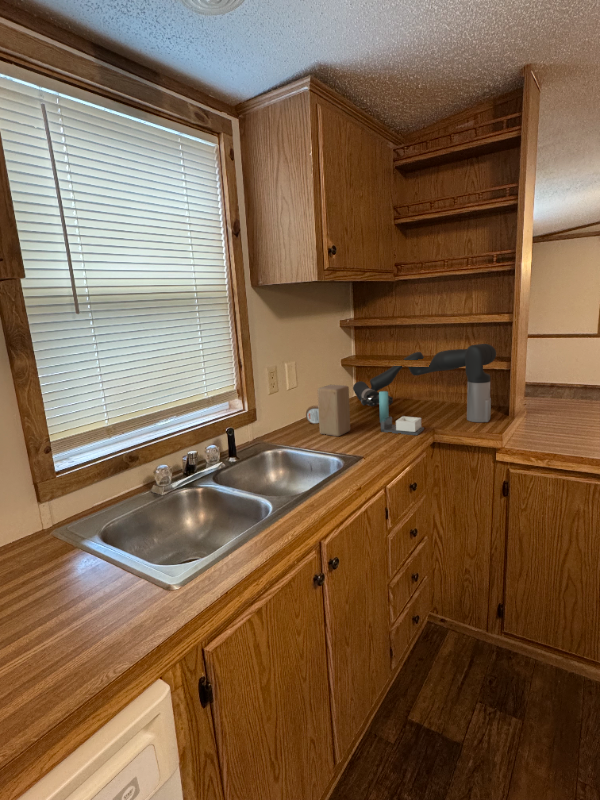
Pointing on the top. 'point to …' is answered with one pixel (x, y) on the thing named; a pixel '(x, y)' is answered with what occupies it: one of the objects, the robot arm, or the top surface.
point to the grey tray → (388, 427)
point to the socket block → (408, 424)
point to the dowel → (383, 405)
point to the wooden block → (334, 410)
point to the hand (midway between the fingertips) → (381, 403)
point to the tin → (313, 414)
